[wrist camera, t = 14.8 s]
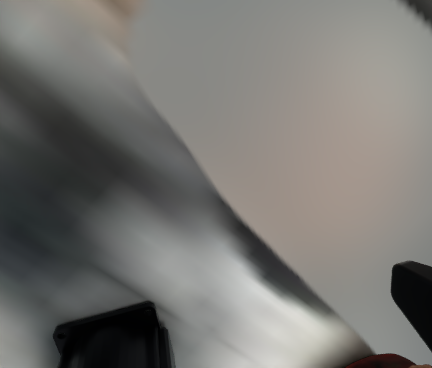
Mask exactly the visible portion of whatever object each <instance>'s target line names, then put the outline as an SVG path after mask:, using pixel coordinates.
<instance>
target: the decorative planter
mask: <svg viewBox="0 0 432 368" xmlns="http://www.w3.org/2000/svg"><path fill="white" fill-rule="evenodd" d="M345 368H432V366H430V365H427V364H425V365H416V364H415V363H413V362H411V361H410V360H408V359H406V358H404V357H402V356H400V355H397V354H378V355H372V356H369V357H366V358H363V359H361V360H359V361H356V362H354V363H352V364H350V365H348V366H347V367H345Z"/></svg>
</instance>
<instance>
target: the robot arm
mask: <svg viewBox="0 0 432 368" xmlns="http://www.w3.org/2000/svg"><path fill="white" fill-rule="evenodd" d="M391 295H392V298H393V300H394V302H395V303H396V304H397V306H398V307H399V308H400V310H401V311H402V313H403V314H404V315H405V317H406V318H407V319H408V321H409V322H410V323H411V325H412V326H413V327H414V329H415V330H416V332H417V333H418V334H419V336H420V337H421V338H422V340H423V341H424V342H425V343H426V345H427V346H428V348H429V349H430V350H431V352H432V267H431V266H427V265H424V264H420V263H417V262H414V261H405V262H401V263H398V264H395V265H394V266H393V268H392V279H391ZM146 310H151V311H149V312H146ZM60 333H65V334H60ZM53 339H54V341H55V343H56V346H57V348H58V351H59V353H60V355H61V357H60V360H59V364H58V368H176V366H175V358H174V353H173V349H172V345H171V341H170V337H169V333H168V330H167V329H166V328H161V326H160V322H159V318H158V315H157V311H156V307H155V305H154V304H153V303H150V302H149V303H144V304H140V305H136V306H132V307H128V308H125V309H121V310H117V311H113V312H109V313H106V314H102V315H98V316H94V317H90V318H86V319H83V320H79V321H75V322H71V323H67V324H64V325H60V326H58V327H57V328H56V329H55V331H54V334H53Z"/></svg>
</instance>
